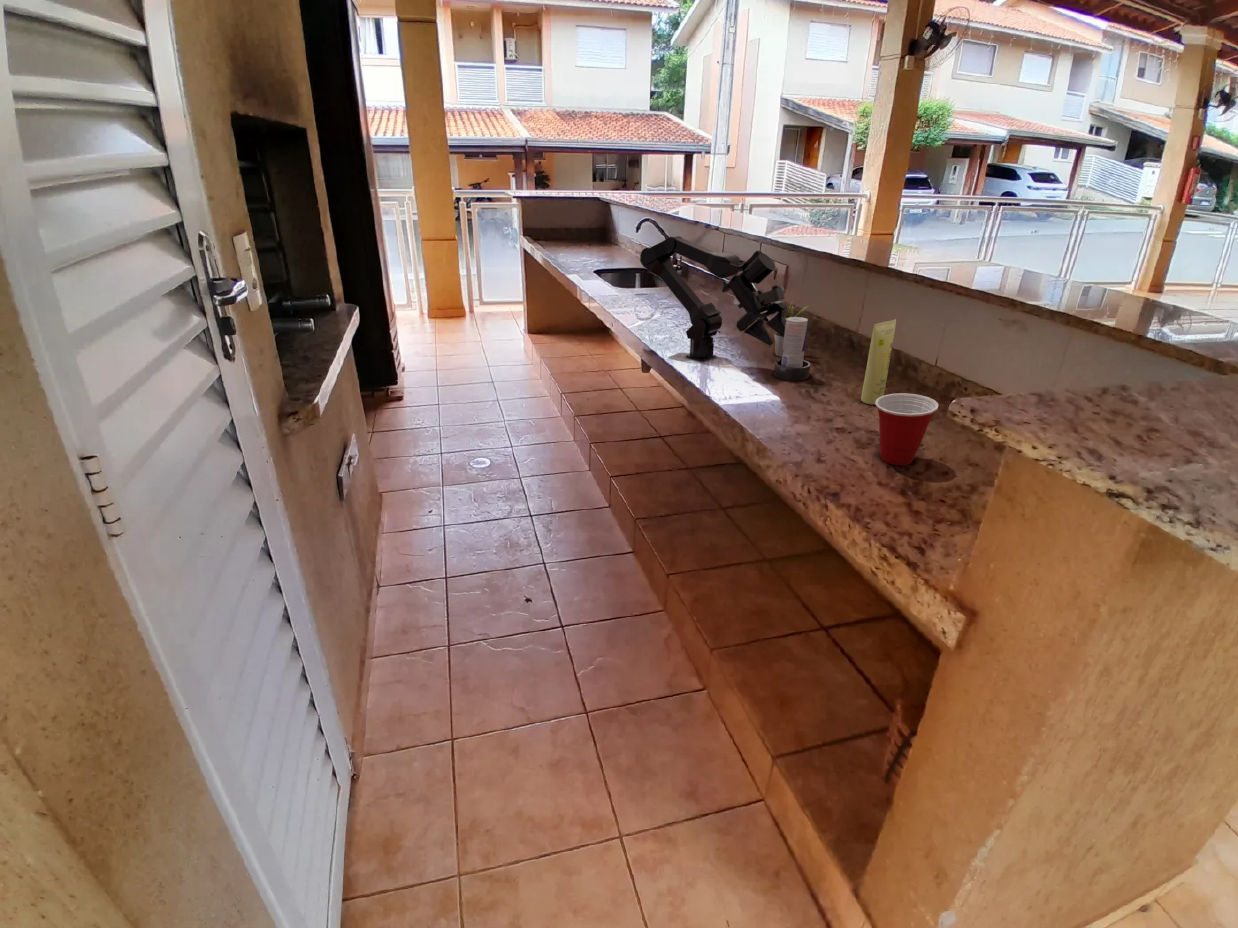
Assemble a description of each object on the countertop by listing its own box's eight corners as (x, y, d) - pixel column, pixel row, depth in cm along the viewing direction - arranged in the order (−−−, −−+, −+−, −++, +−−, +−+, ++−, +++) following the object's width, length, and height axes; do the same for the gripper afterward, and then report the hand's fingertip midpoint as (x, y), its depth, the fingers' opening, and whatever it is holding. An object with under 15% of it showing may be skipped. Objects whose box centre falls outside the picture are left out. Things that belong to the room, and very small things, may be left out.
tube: (883, 407, 145) (898, 324, 137) (860, 405, 147) (874, 323, 138) (881, 399, 150) (896, 319, 142) (859, 397, 152) (873, 318, 143)
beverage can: (805, 375, 166) (812, 320, 159) (786, 377, 165) (792, 321, 158) (795, 369, 171) (801, 315, 164) (776, 371, 170) (782, 317, 163)
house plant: (751, 358, 183) (756, 303, 176) (760, 347, 194) (765, 294, 187) (801, 363, 178) (807, 306, 171) (806, 351, 189) (813, 297, 182)
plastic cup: (856, 449, 124) (865, 392, 119) (907, 446, 125) (919, 390, 120) (881, 473, 114) (892, 413, 109) (936, 470, 115) (951, 410, 110)
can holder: (767, 375, 168) (768, 363, 167) (786, 368, 174) (787, 356, 172) (796, 383, 162) (797, 370, 160) (815, 375, 167) (817, 363, 166)
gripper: (750, 280, 156) (785, 330, 154) (784, 270, 169) (816, 316, 167) (721, 307, 164) (754, 355, 162) (755, 296, 177) (786, 340, 175)
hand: (779, 341), depth 167 cm, fingers open, 9 cm apart
